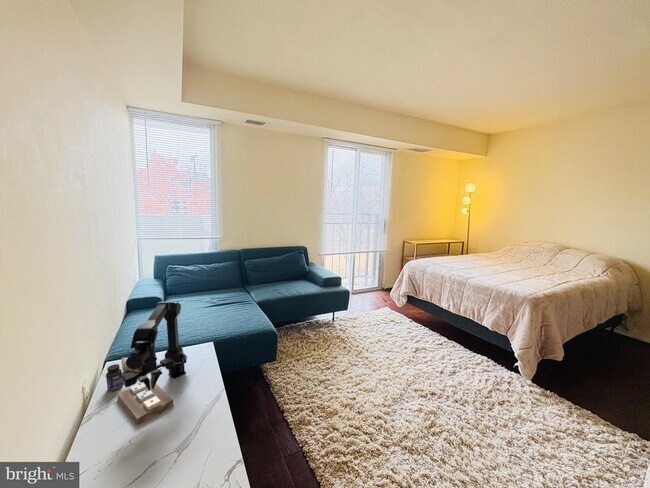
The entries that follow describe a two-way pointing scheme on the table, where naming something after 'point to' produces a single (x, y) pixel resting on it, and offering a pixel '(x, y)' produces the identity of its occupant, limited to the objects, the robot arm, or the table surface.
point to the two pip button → (137, 388)
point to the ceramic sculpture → (125, 368)
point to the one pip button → (151, 403)
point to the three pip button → (144, 395)
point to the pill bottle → (114, 377)
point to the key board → (137, 408)
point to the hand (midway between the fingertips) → (150, 389)
